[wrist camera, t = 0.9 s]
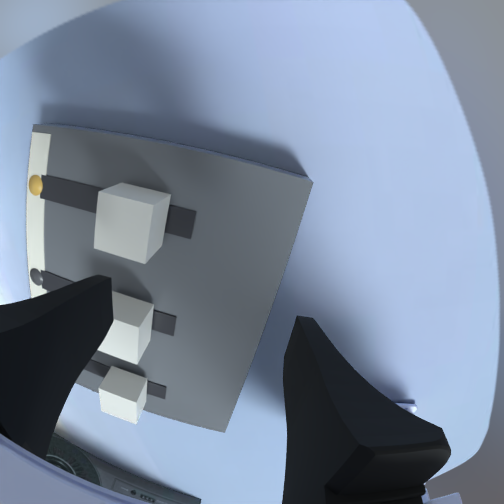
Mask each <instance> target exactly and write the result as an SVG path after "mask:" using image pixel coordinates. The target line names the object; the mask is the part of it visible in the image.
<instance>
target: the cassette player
mask: <svg viewBox="0 0 504 504" xmlns="http://www.w3.org/2000/svg"><path fill="white" fill-rule="evenodd" d="M45 461H47V462H48V463H50V464H52V465H54V466H56V467H58V468H60V469H62V470H64V471H66V472H68V473H71V474H73V475H75V476H77V477H79V478H82V479H84V480H86V481H89V482H91V483H93V484H96V485H98V486H101V487H103V488H106V489H109V490H111V491H114V492H117V493H120V494H122V495H125V496H128V497H131V498H135V499H138V500H141V501H144V502H148V503H151V504H200V503H201V499H199V498H196V497H192V496H189V495H186V494H183V493H180V492H177V491H174V490H171V489H168V488H166V487H163V486H160V485H158V484H155V483H152V482H150V481H147V480H145V479H142V478H140V477H138V476H135V475H133V474H131V473H128V472H126V471H124V470H122V469H120V468H117V467H115V466H113V465H111V464H109V463H107V462H105V461H103V460H101V459H99V458H97V457H95V456H93V455H92V454H90V453H88V452H86V451H84V450H82V449H81V448H79V447H77V446H75V445H74V444H72V443H70V442H69V441H67V440H65V439H64V438H62V437H60V436H59V435H57V434H56V433H54V432H53V435H52V438H51V441H50V444H49V448H48V452H47V455H46V459H45Z"/></svg>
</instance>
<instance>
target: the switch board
mask: <svg viewBox="0 0 504 504" xmlns="http://www.w3.org/2000/svg"><path fill="white" fill-rule="evenodd" d="M119 183H126V184H130V185H134V186H139V187H143V188H147V189H151V190H155V191H159V192H164V193H168V194H171V197H170V203H169V208H168V213H167V219H166V225H165V231H164V237H163V243H162V246H161V247H160V248H159V250H158V251H157V252H156V253H155V254H154V255H153V256H152V257H151V258H150V259H149V260H148V262H147V263H146V264H143V263H140V262H136V261H133V260H130V259H127V258H123V257H120V256H117V255H114V254H110V253H107V252H104V251H101V250H98V249H95V248H94V236H95V222H96V211H97V201H98V192H99V191H101V190H104V189H106V188H109V187H111V186H114V185H117V184H119ZM312 185H313V181H312V180H311V179H310V178H309V177H306V176H303V175H299V174H296V173H293V172H289V171H286V170H282V169H279V168H275V167H272V166H268V165H265V164H261V163H257V162H253V161H250V160H246V159H242V158H238V157H234V156H230V155H226V154H222V153H218V152H214V151H209V150H205V149H201V148H196V147H192V146H187V145H182V144H178V143H173V142H168V141H163V140H158V139H152V138H147V137H142V136H136V135H130V134H124V133H118V132H112V131H105V130H99V129H92V128H84V127H77V126H69V125H60V124H34V125H33V130H32V138H31V145H30V154H29V165H28V177H27V197H26V240H27V259H28V273H29V283H30V292H31V298H34V297H37V296H40V295H42V294H45V293H48V292H51V291H54V290H57V289H59V288H62V287H64V286H67V285H69V284H72V283H75V282H77V281H80V280H82V279H85V278H88V277H91V276H94V275H98V274H99V275H103V276H107V277H111V279H112V291H115V292H118V293H121V294H124V295H127V296H130V297H133V298H136V299H139V300H142V301H145V302H148V303H151V304H154V308H153V318H152V327H151V338H150V342H149V343H148V345H147V347H146V349H145V351H144V353H143V355H142V357H141V359H140V360H139V362H138V364H137V365H136V364H134V363H131V362H128V361H125V360H122V359H120V358H117V357H114V356H112V355H109V354H107V353H104V352H101V351H99V350H97V351H96V352H95V354H94V355H93V357H92V358H91V359H90V361H89V362H88V364H87V365H86V367H85V368H84V370H83V371H82V372H81V374H80V375H79V377H78V378H77V380H76V382H75V383H77V384H79V385H81V386H83V387H86V388H88V389H90V390H93V391H95V392H97V393H99V386H100V385H101V383H102V381H103V380H104V378H105V376H106V375H107V373H108V371H109V370H110V368H111V366H114V367H117V368H119V369H122V370H125V371H127V372H130V373H133V374H136V375H139V376H141V377H144V378H147V395H146V403H145V406H144V408H143V410H145V411H148V412H151V413H154V414H157V415H160V416H163V417H167V418H170V419H173V420H177V421H180V422H184V423H187V424H191V425H195V426H199V427H203V428H207V429H211V430H215V431H219V432H224V433H225V431H226V428H227V426H228V423H229V421H230V418H231V415H232V413H233V410H234V408H235V405H236V403H237V400H238V398H239V395H240V392H241V390H242V387H243V384H244V382H245V379H246V377H247V374H248V371H249V369H250V366H251V363H252V361H253V358H254V355H255V352H256V350H257V347H258V344H259V342H260V339H261V336H262V333H263V331H264V328H265V325H266V322H267V319H268V317H269V314H270V311H271V308H272V305H273V302H274V300H275V297H276V294H277V291H278V288H279V285H280V282H281V279H282V277H283V274H284V271H285V268H286V265H287V262H288V259H289V256H290V253H291V250H292V247H293V244H294V241H295V238H296V235H297V232H298V229H299V226H300V222H301V219H302V216H303V213H304V210H305V207H306V204H307V201H308V197H309V194H310V191H311V188H312Z"/></svg>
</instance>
